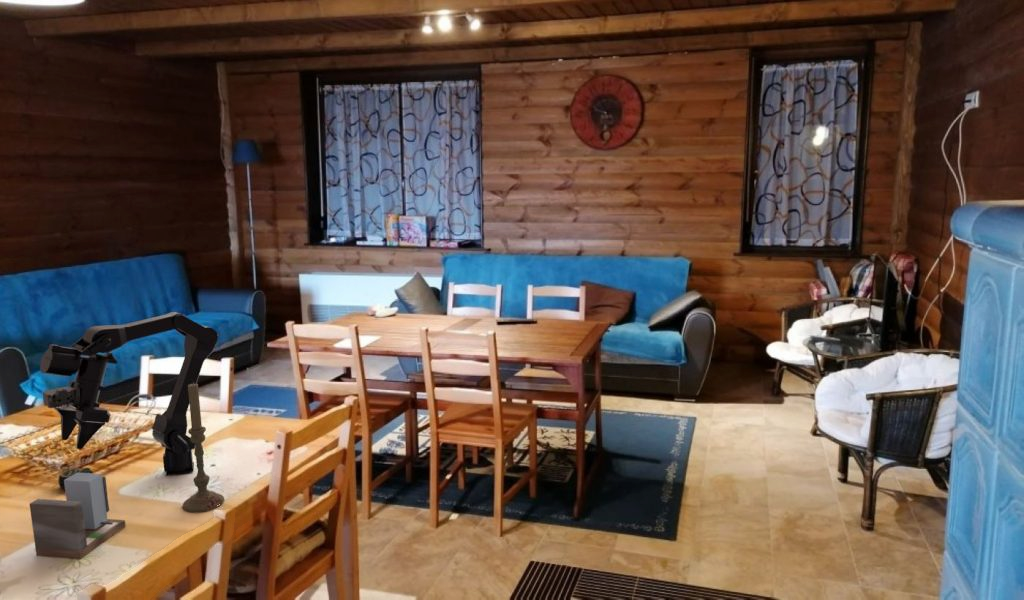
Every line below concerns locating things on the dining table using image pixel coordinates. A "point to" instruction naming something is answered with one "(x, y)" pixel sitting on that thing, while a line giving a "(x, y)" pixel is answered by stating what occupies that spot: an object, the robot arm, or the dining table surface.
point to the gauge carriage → (89, 497)
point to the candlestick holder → (199, 460)
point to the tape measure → (69, 473)
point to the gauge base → (66, 529)
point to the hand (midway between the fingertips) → (71, 444)
